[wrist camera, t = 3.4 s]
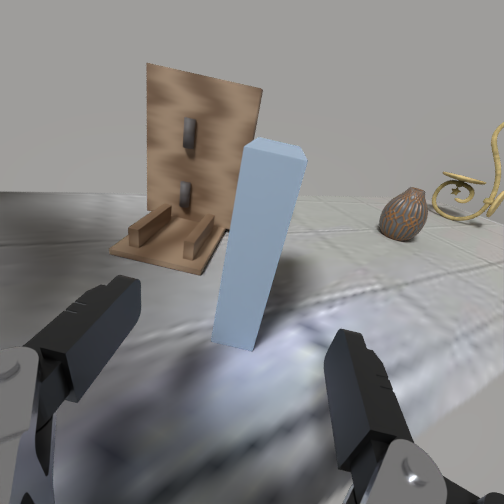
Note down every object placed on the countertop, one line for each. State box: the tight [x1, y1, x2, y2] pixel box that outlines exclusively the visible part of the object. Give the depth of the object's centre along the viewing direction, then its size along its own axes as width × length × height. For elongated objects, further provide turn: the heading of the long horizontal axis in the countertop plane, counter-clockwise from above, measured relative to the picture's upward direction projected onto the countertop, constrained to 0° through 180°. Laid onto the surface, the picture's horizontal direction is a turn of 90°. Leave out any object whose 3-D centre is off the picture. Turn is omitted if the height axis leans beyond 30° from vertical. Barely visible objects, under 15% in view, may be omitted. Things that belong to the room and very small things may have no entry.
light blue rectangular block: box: [211, 137, 308, 351], centre depth 18 cm, size 3×7×13 cm, turn 173°
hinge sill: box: [109, 63, 263, 275], centre depth 25 cm, size 12×12×17 cm
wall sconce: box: [432, 122, 504, 221], centre depth 62 cm, size 14×10×25 cm
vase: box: [379, 187, 428, 241], centre depth 44 cm, size 7×7×9 cm
